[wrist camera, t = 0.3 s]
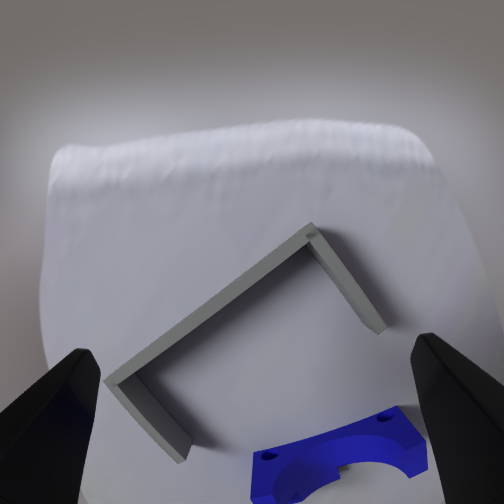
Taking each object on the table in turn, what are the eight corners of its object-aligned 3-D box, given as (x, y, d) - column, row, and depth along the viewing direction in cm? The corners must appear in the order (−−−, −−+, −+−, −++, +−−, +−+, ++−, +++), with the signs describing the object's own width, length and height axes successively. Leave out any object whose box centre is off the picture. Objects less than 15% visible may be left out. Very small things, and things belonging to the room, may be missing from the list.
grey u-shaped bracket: (373, 317, 22) (387, 327, 19) (186, 443, 22) (177, 464, 19) (305, 225, 22) (311, 222, 19) (119, 367, 23) (102, 380, 20)
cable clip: (269, 486, 22) (270, 533, 16) (253, 451, 22) (250, 498, 16) (402, 443, 22) (428, 482, 16) (395, 404, 22) (425, 441, 16)
